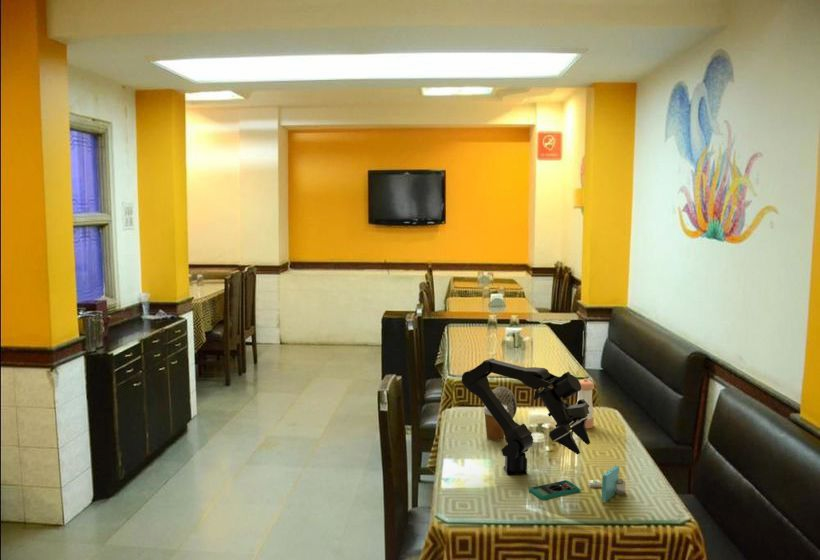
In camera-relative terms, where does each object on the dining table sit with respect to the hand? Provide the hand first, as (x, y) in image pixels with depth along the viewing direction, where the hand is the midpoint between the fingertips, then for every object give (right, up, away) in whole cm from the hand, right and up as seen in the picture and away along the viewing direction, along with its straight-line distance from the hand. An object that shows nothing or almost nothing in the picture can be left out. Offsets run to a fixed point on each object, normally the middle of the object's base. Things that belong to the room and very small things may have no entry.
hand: (584, 448), depth 204 cm
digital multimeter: (-10, -14, -2) cm, 17 cm away
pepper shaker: (+15, -6, +59) cm, 61 cm away
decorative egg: (-17, -6, +62) cm, 65 cm away
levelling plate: (+7, -14, -3) cm, 16 cm away
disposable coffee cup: (-22, -8, +46) cm, 51 cm away
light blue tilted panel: (+7, -13, -5) cm, 16 cm away
